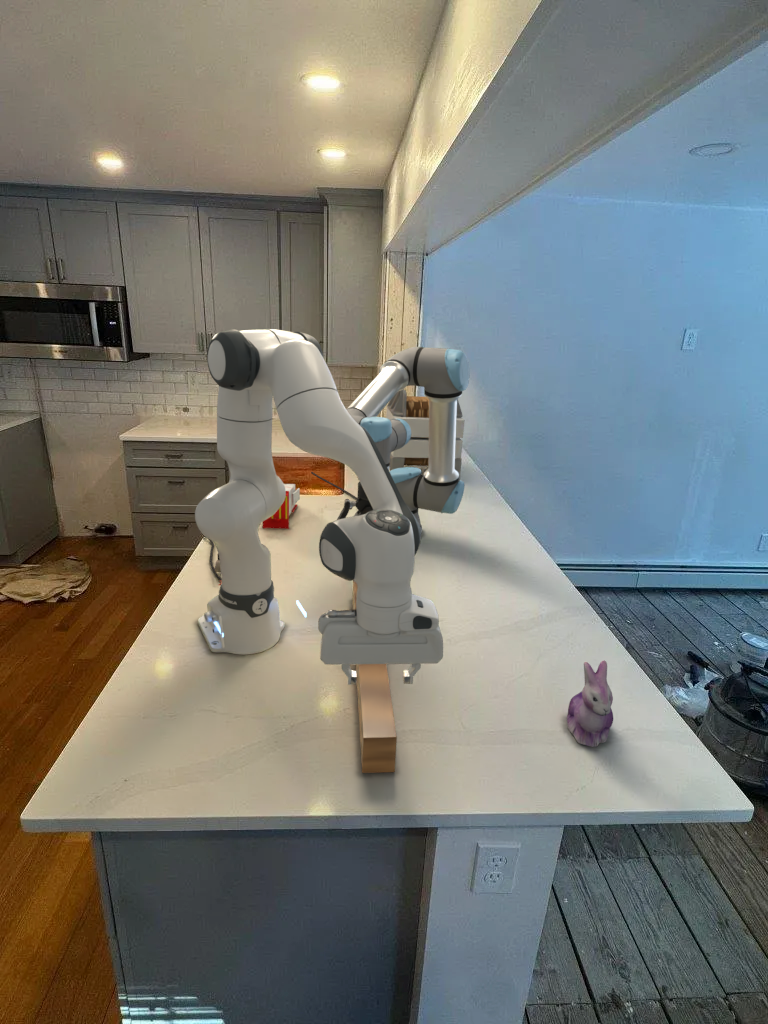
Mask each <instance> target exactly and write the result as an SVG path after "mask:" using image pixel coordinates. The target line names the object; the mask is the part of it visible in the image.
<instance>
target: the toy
mask: <svg viewBox="0 0 768 1024" xmlns="http://www.w3.org/2000/svg"><path fill="white" fill-rule="evenodd" d="M283 484H284V486H285V490H286V497H285V500H284V502H283V504H282V505H281V506H280V508H279V509H278V510H277V512H276V513H275V514H274V515H272V516H271V517H269V518H268V519H266V520H265V521H263V522H262V529H282V530H283V529H284V530H285V529H286V530H289V529H290V515H291V513H294V512H295V510H296V509H297V507H298V504H297V503H298V502H299V501H300V499H301V490H300V487H298V488H297V489H296V484H295V483H283Z"/></svg>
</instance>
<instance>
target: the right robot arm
mask: <svg viewBox="0 0 768 1024" xmlns="http://www.w3.org/2000/svg"><path fill="white" fill-rule="evenodd" d="M470 369H471V368H470V362H469V359H468V357H467V355H466V353H465V352H464V351H463V350H461V349H453V348H441V347H427V346H426V347H425V346H424V347H423V346H412V347H408V348H405V349H403V350H400V351H399V352H397V353H395V354H394V355H392V356H390V357H389V358H388V359H386V361H384V362H383V364H382V365H381V366H380V367H379V371H378V374H377V375H376V376H375V377H374V378H373V379H372V381H371V382H370V383H369V384H368V385H367V386H366V387H365V388H364V389H363V390H362V391H361V392H360V394H359V395H358V396H356V398H355V399H354V400H353V401H352V402H351V403H350V405H349V406H347V408H346V410H347V411H348V413H349V414H350V415H351V417H352V418H353V419H354V420H355V421H356V422H357V423H358V424H359V425H361V426H362V427H364V428H365V429H366V430H367V431H368V433H369V434H370V435H371V437H372V439H373V441H374V442H375V444H376V446H377V448H378V450H379V452H380V454H381V456H382V458H383V460H384V462H385V464H386V466H387V468H388V470H389V472H390V474H391V476H392V478H393V480H394V482H395V484H396V486H397V488H398V490H399V492H400V494H401V496H402V498H403V500H404V502H405V503H406V505H407V506H408V508H409V509H410V511H411V512H412V513H413V515H414V516H415V518H416V519H417V521H418V523H419V526H420V529H421V536H422V535H423V525H422V524H421V518H420V515H419V509H420V510H424V511H430V512H437V513H441V514H449V515H452V514H455V513H456V512H457V510H458V509H459V508H460V505H461V502H462V500H463V496H464V493H465V492H464V491H465V482H464V481H463V480H462V479H460V480H459V473H458V472H457V471H456V470H455V442H456V414H457V399H458V400H459V398H461V397H462V395H463V392H464V391H466V390H467V388H469V387H468V386H469V384H470V383H469V382H470V380H469V379H470V376H471V375H470V373H471V371H470ZM409 386H411V387H413V386H414V387H421V388H423V389H424V390H423V391H424V392H423V393H424V397H427V398H428V399H429V461H428V466H427V469H426V470H424V472H423V474H422V470H421V468H419V467H416V466H406V467H405V466H404V467H403V468H397V469H393V470H391V471H390V467H389V465H390V453H391V452H393V451H395V450H397V449H400V448H402V447H403V446H404V445H406V444H407V443H408V442H409V440H410V438H411V429H410V426H409V425H408V423H407V422H406V421H404V420H402V419H390V420H389V419H387V418H386V417H383V416H379V415H380V413H381V412H382V411H383V410H384V408H386V407H387V405H388V403H389V401H390V400H391V399H392V398H393V396H394V395H395V394H396V393H397V392H398V391H401V390H403V389H404V390H405V389H406V387H409ZM310 474H312V475H313V476H315V477H316V478H318V479H319V480H322V481H323V482H325V483H327V484H328V485H331V486H332V487H334V488H336V489H338V490H340V491H342V492H344V493H345V494H347V495H348V496H350V497H352V498H353V499H354V500H351V499H349V498H345V499H344V503H343V508H342V509H341V511H340V513H339V514H338V517H337V518H336V520H339V519H343V518H347V516H348V514H349V512H350V511H351V510H352V509H353V508H354V507H355V508H356V512H355V513H354V515H353V516H359V515H364V514H366V513H368V512H370V511H372V510H373V508H372V506H371V504H370V502H369V500H368V497H367V495H366V493H365V491H364V489H363V487H362V485H361V483H360V481H359V479H358V478H357V479H358V482H357V496H356V495H354V494H352V493H351V492H349V491H347V490H345V489H344V488H342V487H340V486H338V485H336V484H334V483H332V482H331V481H329V480H328V479H325V478H324V477H322V476H320V475H318V474H316V473H315V472H314V471H311V472H310Z"/></svg>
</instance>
